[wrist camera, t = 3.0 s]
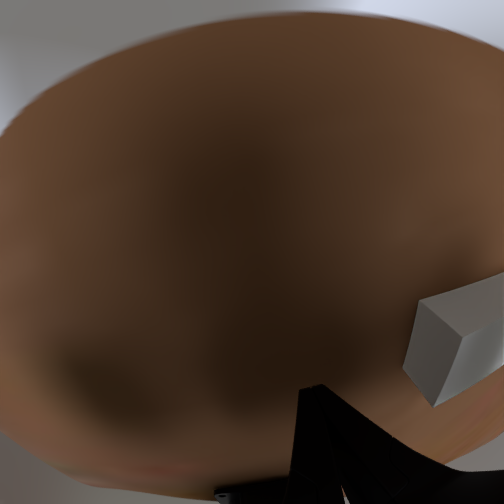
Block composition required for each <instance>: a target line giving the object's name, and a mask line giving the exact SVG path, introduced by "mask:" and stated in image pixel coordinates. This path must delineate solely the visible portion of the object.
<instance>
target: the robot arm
mask: <svg viewBox="0 0 504 504" xmlns="http://www.w3.org/2000/svg"><path fill="white" fill-rule="evenodd" d="M341 486H342V487H341ZM342 488H343V490H344V492H345V494H346V497H347V499H348V501H349V503H350V504H504V470H495V471H478V472H465V471H459V470H455V469H452V468H450V467H447V466H445V465H443V464H441V463H439V462H436V461H434V460H432V459H430V458H428V457H426V456H424V455H422V454H420V453H418V452H416V451H414V450H412V449H411V448H409V447H408V446H406V445H405V444H403V443H401V442H400V441H399V440H397V439H396V438H394V437H393V438H392V436H391V435H390V434H389V433H387V432H386V431H384V430H383V429H382V428H380V427H379V426H378V425H376V424H375V423H373V422H372V421H371V420H369V419H368V418H367V417H365V416H364V415H363V414H361V413H360V412H359V411H357V410H356V409H355V408H353V407H352V406H351V405H349V404H348V403H347V402H345V401H344V400H343V399H342V398H340V397H339V396H338V395H336V394H335V393H334V392H333V391H331V390H330V389H329V388H327V387H326V386H325V385H323V384H320V385H316V386H312V387H311V388H310V387H308V388H304V389H300V390H299V396H298V406H297V416H296V425H295V434H294V442H293V450H292V458H291V465H290V471H289V478H288V479H287V480H282V481H276V482H270V483H264V484H258V485H250V486H242V487H233V488H221V489H215V490H214V497H215V498H216V499H217V501H218V502H219V503H220V504H345V501H344V496H343V492H342Z"/></svg>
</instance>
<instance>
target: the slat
mask: <svg viewBox="0 0 504 504" xmlns="http://www.w3.org/2000/svg"><path fill="white" fill-rule="evenodd" d="M502 365H504V272H503V273H500V274H497V275H495V276H492V277H489V278H486V279H484V280H481V281H478V282H475V283H472V284H469V285H466V286H463V287H460V288H457V289H454V290H451V291H448V292H444V293H441V294H438V295H435V296H431V297H428V298H424V299H421V300H419V302H418V307H417V312H416V317H415V321H414V326H413V330H412V334H411V338H410V342H409V346H408V350H407V353H406V357H405V361H404V364H403V367H402V368H403V370H404V371H405V372H406V373H407V375H408V376H409V377H410V379H411V380H412V381H413V382H414V384H415V385H416V386H417V388H418V389H419V390H420V392H421V393H422V394H423V395H424V397H425V398H426V399H427V401H428V402H429V403H430V405H431V406H432V407H433V408H434V407H435V406H437V405H439V404H441V403H443V402H445V401H447V400H449V399H450V398H452V397H454V396H456V395H458V394H459V393H461V392H463V391H464V390H466V389H468V388H469V387H471V386H473V385H474V384H476V383H477V382H479V381H481V380H482V379H484V378H485V377H487V376H488V375H490V374H491V373H492V372H494V371H495V370H497V369H498V368H500V367H501V366H502Z"/></svg>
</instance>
